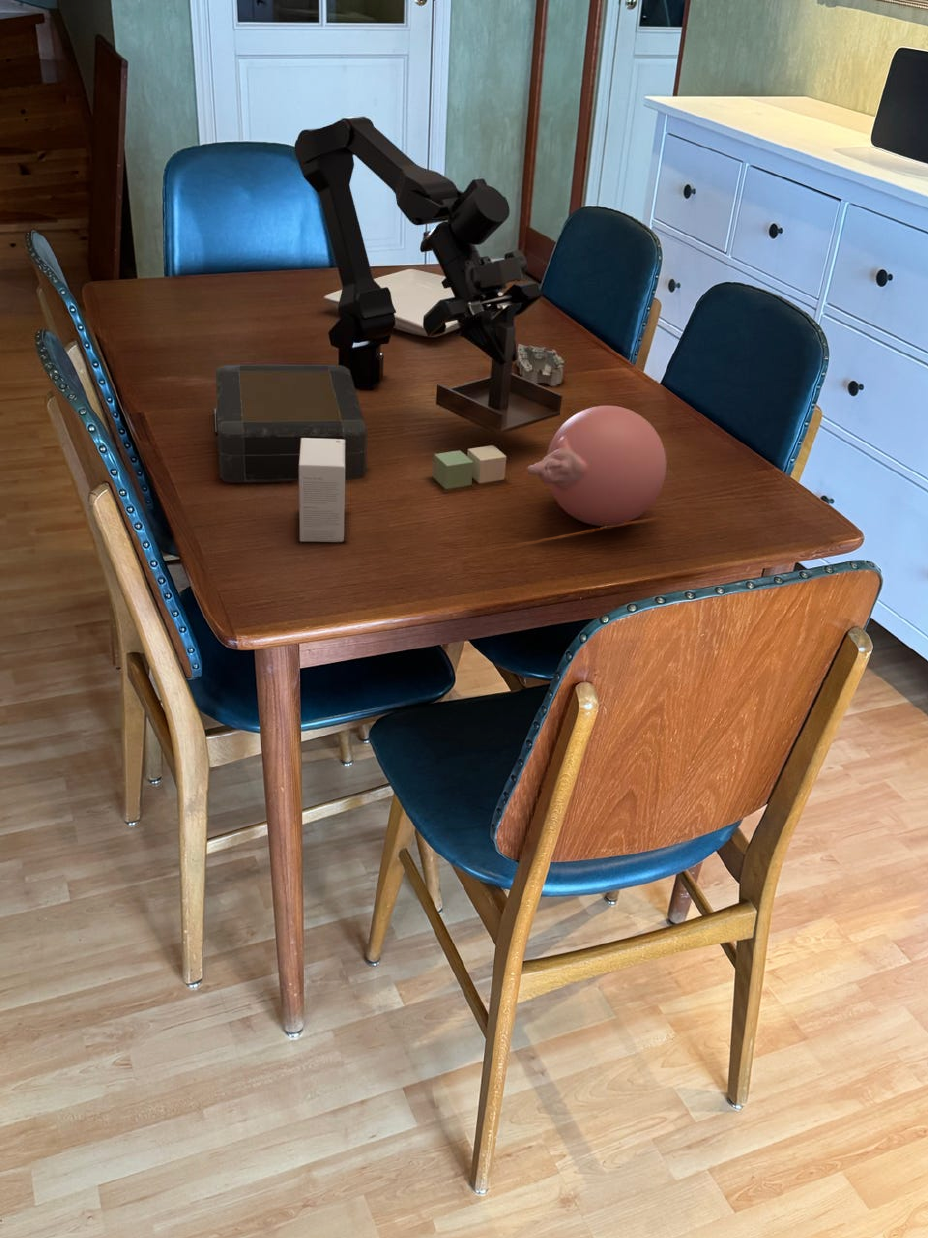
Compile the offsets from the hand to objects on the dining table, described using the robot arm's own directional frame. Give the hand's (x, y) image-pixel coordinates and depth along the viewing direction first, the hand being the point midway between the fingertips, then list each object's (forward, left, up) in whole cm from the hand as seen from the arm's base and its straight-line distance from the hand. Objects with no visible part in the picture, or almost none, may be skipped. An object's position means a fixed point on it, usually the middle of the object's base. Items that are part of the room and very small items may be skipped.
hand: (509, 361), depth 156 cm
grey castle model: (+1, +33, -14) cm, 36 cm away
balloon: (+14, -19, -14) cm, 27 cm away
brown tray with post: (-1, +1, -8) cm, 8 cm away
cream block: (-2, -8, -12) cm, 14 cm away
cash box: (-30, -9, -14) cm, 34 cm away
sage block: (-6, -12, -12) cm, 18 cm away
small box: (-18, -31, -14) cm, 38 cm away
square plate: (-25, +57, -14) cm, 64 cm away
